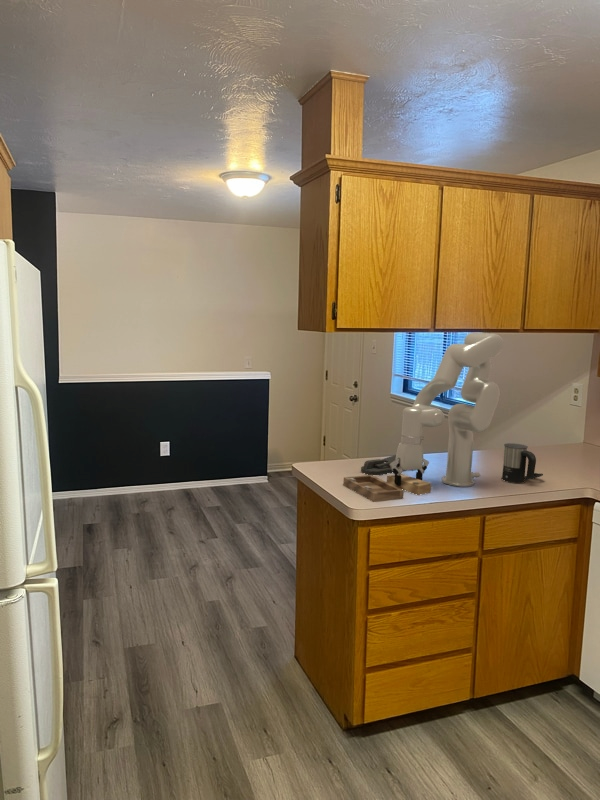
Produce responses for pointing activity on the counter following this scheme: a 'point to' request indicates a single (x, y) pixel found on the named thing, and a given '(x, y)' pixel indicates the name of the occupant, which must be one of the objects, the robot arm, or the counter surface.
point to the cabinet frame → (373, 488)
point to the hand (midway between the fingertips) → (408, 483)
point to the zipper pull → (378, 466)
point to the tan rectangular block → (411, 484)
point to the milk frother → (518, 463)
